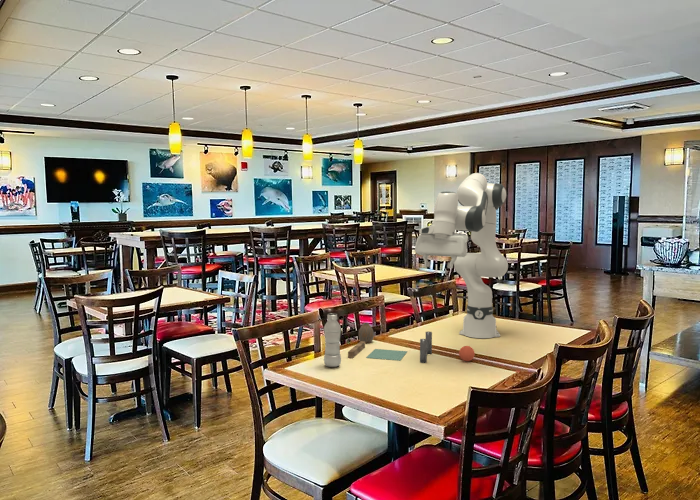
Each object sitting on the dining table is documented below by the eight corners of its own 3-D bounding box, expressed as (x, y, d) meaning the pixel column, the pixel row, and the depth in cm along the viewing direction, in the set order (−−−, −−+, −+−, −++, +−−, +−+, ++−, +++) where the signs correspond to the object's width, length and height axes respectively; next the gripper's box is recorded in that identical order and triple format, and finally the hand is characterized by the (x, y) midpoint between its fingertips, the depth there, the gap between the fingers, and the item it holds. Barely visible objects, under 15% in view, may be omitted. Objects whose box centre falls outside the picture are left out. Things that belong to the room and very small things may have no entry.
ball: (459, 358, 208) (459, 343, 207) (475, 359, 206) (475, 344, 206) (458, 362, 202) (458, 347, 202) (474, 363, 200) (474, 348, 200)
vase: (372, 344, 231) (372, 324, 230) (357, 343, 232) (357, 324, 232) (374, 340, 238) (374, 321, 237) (360, 340, 239) (359, 321, 238)
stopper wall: (360, 346, 226) (360, 341, 226) (365, 347, 226) (364, 341, 226) (348, 357, 209) (347, 351, 209) (352, 358, 209) (352, 352, 209)
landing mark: (374, 349, 222) (374, 348, 222) (407, 351, 218) (407, 351, 218) (366, 357, 209) (366, 357, 209) (400, 360, 205) (400, 360, 205)
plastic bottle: (332, 363, 202) (332, 312, 201) (344, 366, 197) (344, 314, 196) (320, 366, 198) (319, 314, 196) (332, 370, 193) (331, 316, 192)
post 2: (425, 352, 217) (426, 331, 216) (432, 353, 216) (432, 331, 215) (424, 354, 214) (425, 332, 214) (431, 354, 213) (431, 333, 213)
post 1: (420, 361, 204) (420, 338, 204) (427, 361, 203) (427, 338, 203) (419, 362, 202) (419, 340, 201) (426, 363, 201) (426, 340, 200)
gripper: (471, 234, 196) (467, 270, 194) (422, 233, 208) (417, 267, 205) (465, 230, 191) (461, 267, 189) (415, 229, 203) (410, 264, 200)
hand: (438, 267), depth 197 cm, fingers open, 8 cm apart
